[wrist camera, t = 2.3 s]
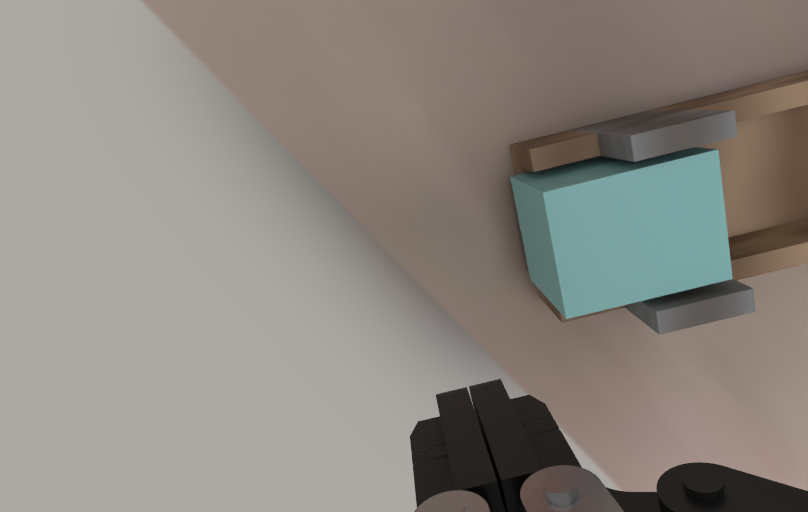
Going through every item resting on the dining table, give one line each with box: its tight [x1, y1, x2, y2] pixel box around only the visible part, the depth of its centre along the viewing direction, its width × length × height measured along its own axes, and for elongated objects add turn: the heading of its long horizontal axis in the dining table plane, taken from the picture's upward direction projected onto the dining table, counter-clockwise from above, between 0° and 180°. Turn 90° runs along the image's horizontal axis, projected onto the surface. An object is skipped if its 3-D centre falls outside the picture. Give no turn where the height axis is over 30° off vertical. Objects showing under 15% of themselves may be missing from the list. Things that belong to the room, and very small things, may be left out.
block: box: [510, 147, 733, 319], centre depth 26 cm, size 7×5×6 cm
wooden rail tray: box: [510, 71, 808, 335], centre depth 27 cm, size 16×8×8 cm, turn 104°
